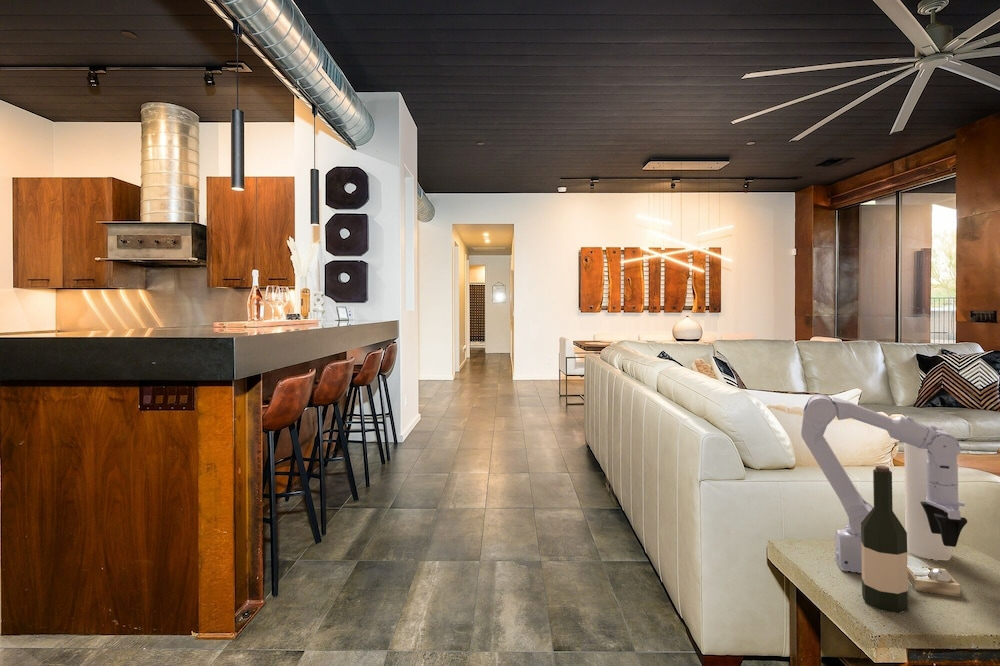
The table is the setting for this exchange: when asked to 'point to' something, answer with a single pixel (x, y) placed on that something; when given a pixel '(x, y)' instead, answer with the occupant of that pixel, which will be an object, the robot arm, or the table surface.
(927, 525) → the paper towel roll
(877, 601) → the wine bottle
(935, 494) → the robot arm
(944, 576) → the ball
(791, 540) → the table surface
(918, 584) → the tray
